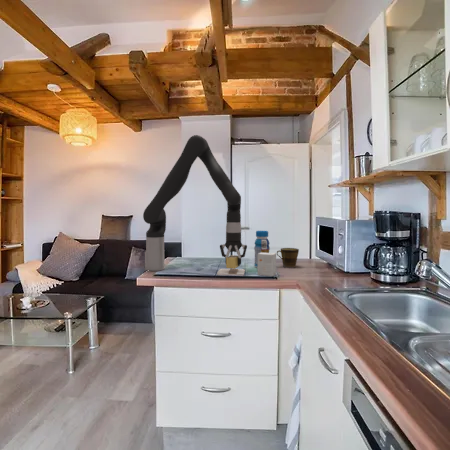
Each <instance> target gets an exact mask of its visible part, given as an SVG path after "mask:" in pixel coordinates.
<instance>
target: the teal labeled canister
mask: <svg viewBox="0 0 450 450" xmlns="http://www.w3.org/2000/svg"><path fill="white" fill-rule="evenodd" d="M255 237H256V239H255V240H254V248H253V250H254V264H253V265H254V268H257V269H258V255H257V254H258V253H261V252H263V253H270V250H271V248H270V240H269V239H268V237H269V230H256V232H255Z"/></svg>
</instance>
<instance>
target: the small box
mask: <svg viewBox="0 0 450 450" xmlns="http://www.w3.org/2000/svg"><path fill="white" fill-rule="evenodd" d="M257 255H258V268H257V275H258V276H263V277H264V276H265V277H274V276H276V275H277V252H269V253H263V252H261V253H258V254H257Z"/></svg>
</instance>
